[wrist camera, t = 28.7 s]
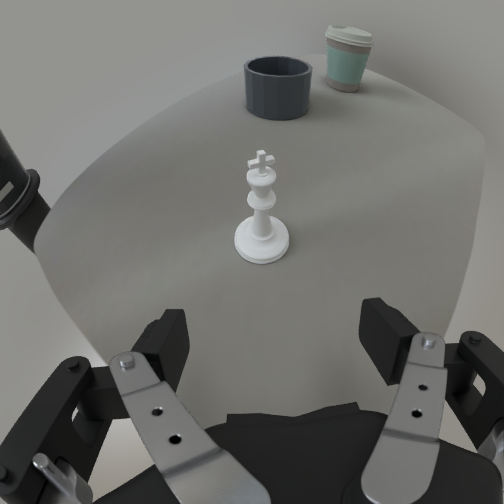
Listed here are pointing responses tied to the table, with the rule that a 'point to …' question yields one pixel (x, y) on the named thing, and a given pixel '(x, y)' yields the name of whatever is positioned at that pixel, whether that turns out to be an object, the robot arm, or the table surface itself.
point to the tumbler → (277, 87)
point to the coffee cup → (346, 56)
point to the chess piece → (261, 216)
